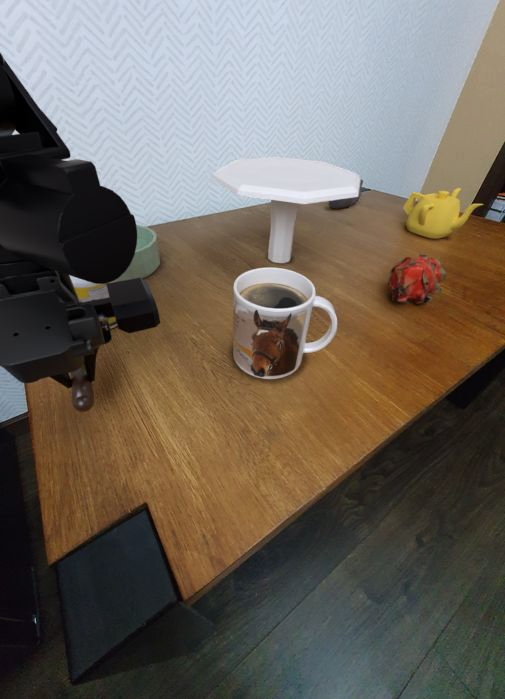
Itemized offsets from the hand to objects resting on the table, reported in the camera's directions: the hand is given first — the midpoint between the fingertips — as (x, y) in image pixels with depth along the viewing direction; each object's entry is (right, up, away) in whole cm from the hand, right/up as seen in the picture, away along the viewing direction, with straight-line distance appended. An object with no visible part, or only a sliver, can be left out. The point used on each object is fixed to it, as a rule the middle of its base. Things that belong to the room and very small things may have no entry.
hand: (81, 382), depth 34 cm
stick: (0, -1, +1) cm, 1 cm away
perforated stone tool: (+47, +48, +61) cm, 90 cm away
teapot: (+67, +35, +48) cm, 89 cm away
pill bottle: (-4, +8, +14) cm, 17 cm away
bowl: (-7, +20, +27) cm, 35 cm away
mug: (+22, +2, +9) cm, 24 cm away
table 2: (+25, +23, +33) cm, 47 cm away
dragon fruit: (+47, +13, +23) cm, 54 cm away
